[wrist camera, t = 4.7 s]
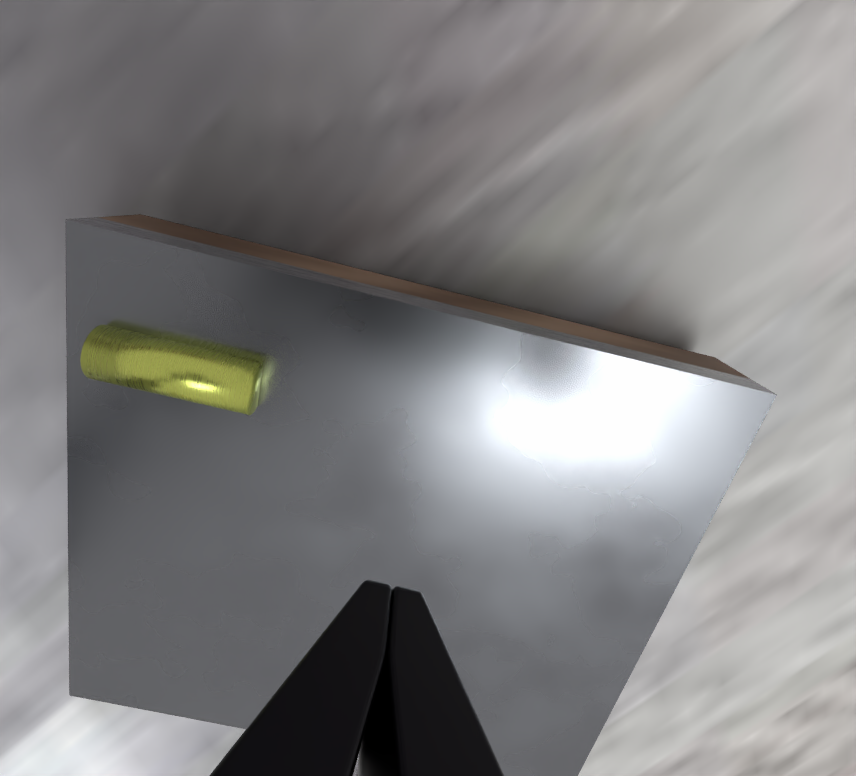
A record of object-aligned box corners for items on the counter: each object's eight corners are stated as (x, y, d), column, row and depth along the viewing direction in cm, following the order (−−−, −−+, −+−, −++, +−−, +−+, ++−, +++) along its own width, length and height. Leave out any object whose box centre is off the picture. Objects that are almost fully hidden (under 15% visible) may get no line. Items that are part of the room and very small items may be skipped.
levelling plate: (91, 665, 19) (48, 723, 17) (97, 217, 13) (33, 221, 11) (562, 757, 20) (576, 822, 18) (750, 379, 14) (802, 410, 12)
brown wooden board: (138, 602, 22) (93, 663, 19) (157, 212, 16) (97, 217, 13) (547, 685, 23) (561, 754, 20) (699, 348, 17) (750, 379, 14)
